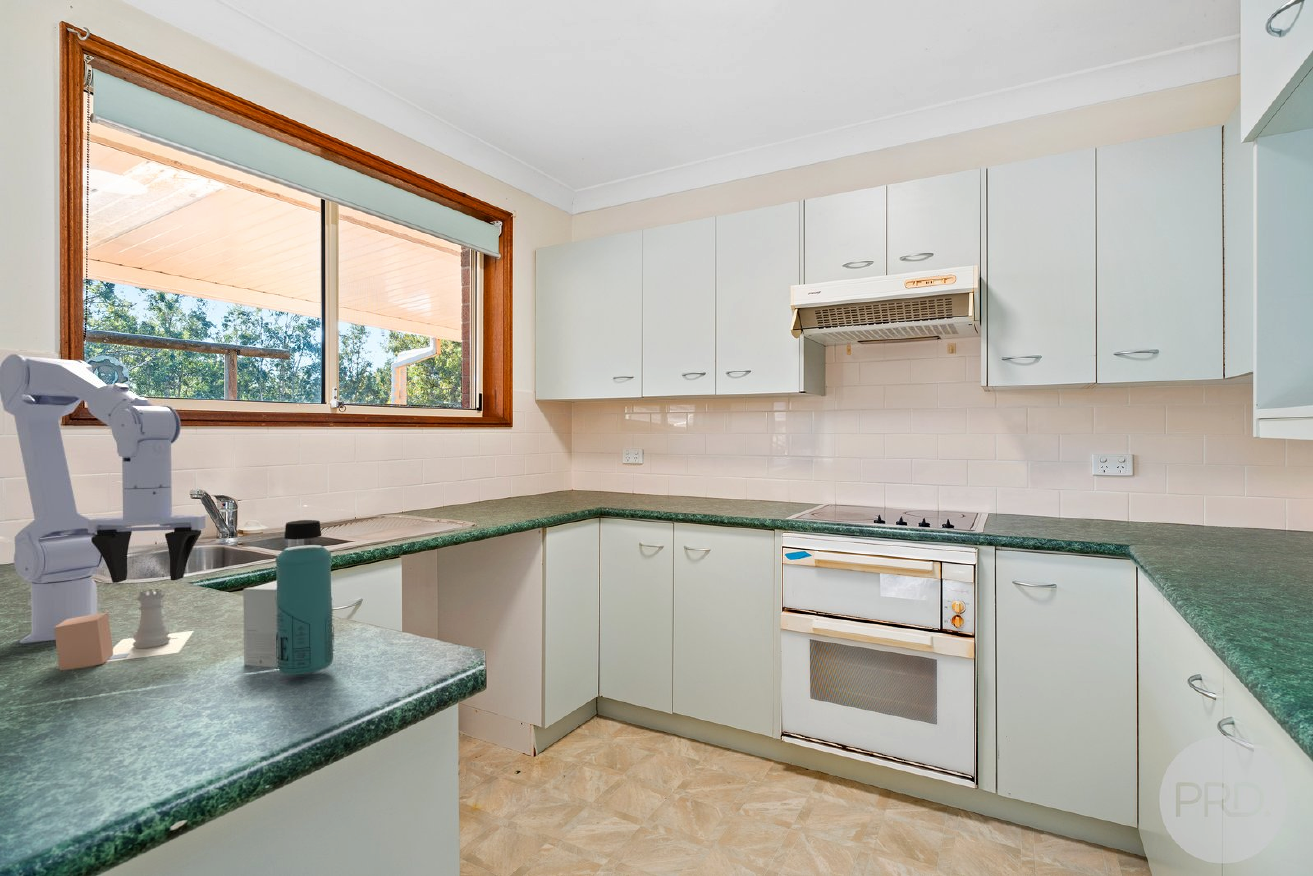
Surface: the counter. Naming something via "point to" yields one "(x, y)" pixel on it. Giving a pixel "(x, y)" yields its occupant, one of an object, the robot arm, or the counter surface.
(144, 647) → the rook chess piece
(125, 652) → the letter
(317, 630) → the beverage bottle
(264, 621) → the small box
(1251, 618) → the counter surface
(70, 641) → the block
